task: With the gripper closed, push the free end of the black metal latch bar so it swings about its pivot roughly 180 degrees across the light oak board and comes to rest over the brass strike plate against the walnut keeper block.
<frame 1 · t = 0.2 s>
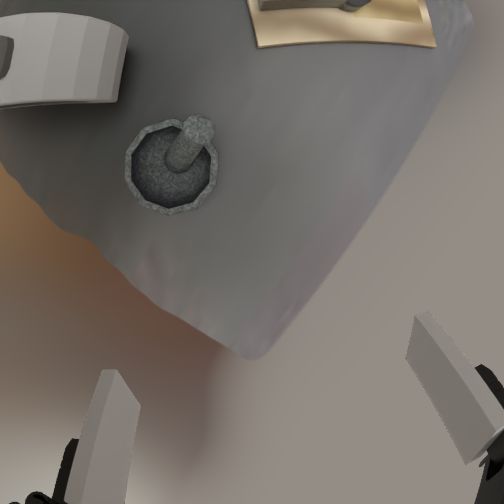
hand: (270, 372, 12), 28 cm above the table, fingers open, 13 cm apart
alarm clock: (66, 76, 28), on the table
mortar and pestle: (183, 153, 34), on the table
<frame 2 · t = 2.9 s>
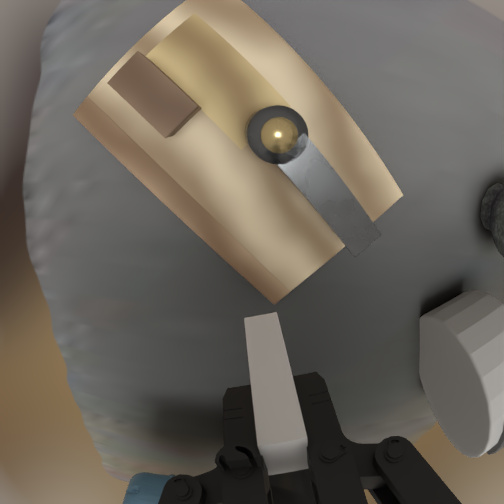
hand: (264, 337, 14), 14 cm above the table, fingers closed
alarm clock: (439, 337, 36), on the table
latch bar: (314, 179, 22), point 3 cm above the table, hinge at -90.0°
mortar and pestle: (491, 205, 28), on the table
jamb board: (245, 143, 23), on the table
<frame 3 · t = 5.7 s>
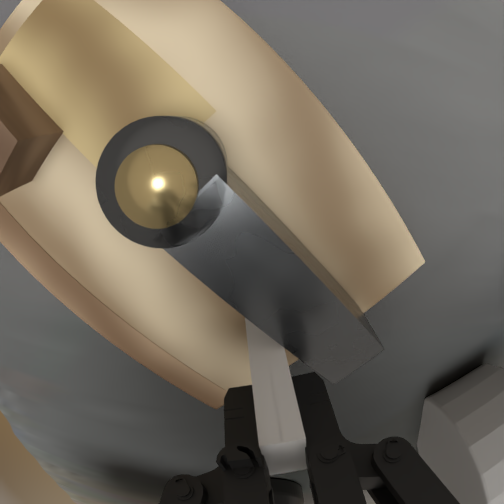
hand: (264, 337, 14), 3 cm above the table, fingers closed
alarm clock: (446, 409, 26), on the table
latch bar: (258, 260, 11), point 3 cm above the table, hinge at -89.0°, touching gripper
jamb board: (145, 183, 13), on the table
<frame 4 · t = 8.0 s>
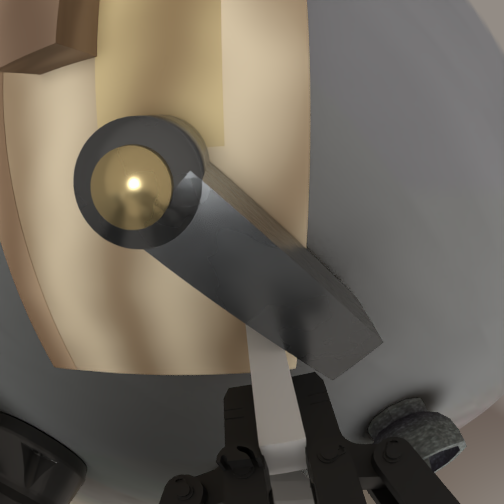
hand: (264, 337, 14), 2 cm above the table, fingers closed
alarm clock: (244, 483, 29), on the table
latch bar: (245, 256, 11), point 3 cm above the table, hinge at -45.2°, touching gripper
mortar and pestle: (394, 413, 24), on the table
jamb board: (123, 153, 12), on the table
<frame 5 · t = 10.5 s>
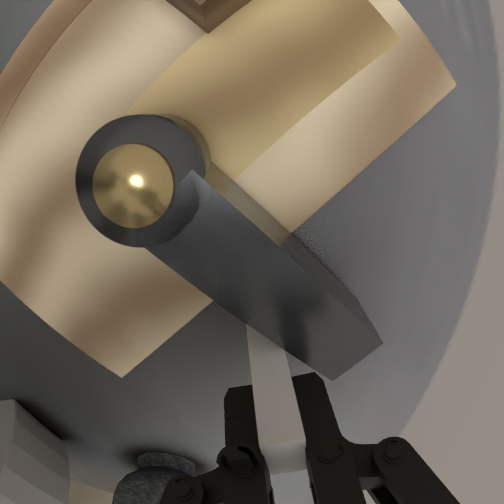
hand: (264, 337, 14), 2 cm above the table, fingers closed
alarm clock: (13, 421, 23), on the table
latch bar: (245, 255, 11), point 3 cm above the table, hinge at 2.4°, touching gripper
mortar and pestle: (166, 460, 25), on the table
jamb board: (144, 121, 12), on the table
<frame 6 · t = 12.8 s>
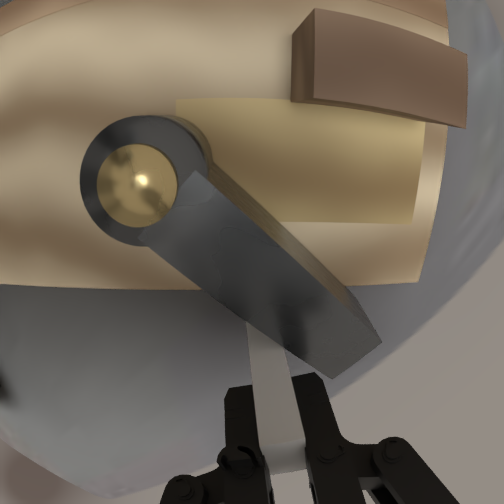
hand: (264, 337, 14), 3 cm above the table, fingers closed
latch bar: (247, 255, 11), point 3 cm above the table, hinge at 46.8°, touching gripper
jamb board: (180, 114, 12), on the table
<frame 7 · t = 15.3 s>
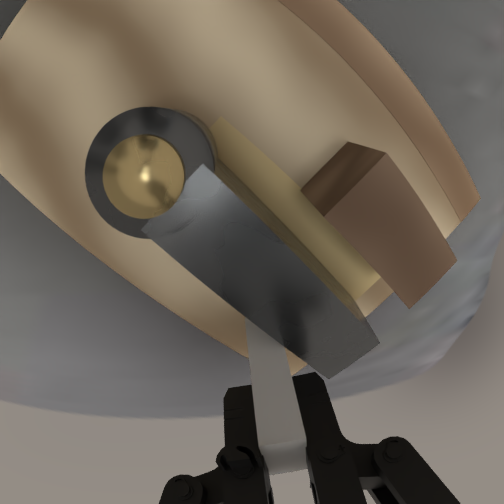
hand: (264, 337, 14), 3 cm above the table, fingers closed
latch bar: (249, 251, 11), point 3 cm above the table, hinge at 85.9°, touching gripper
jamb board: (212, 126, 12), on the table
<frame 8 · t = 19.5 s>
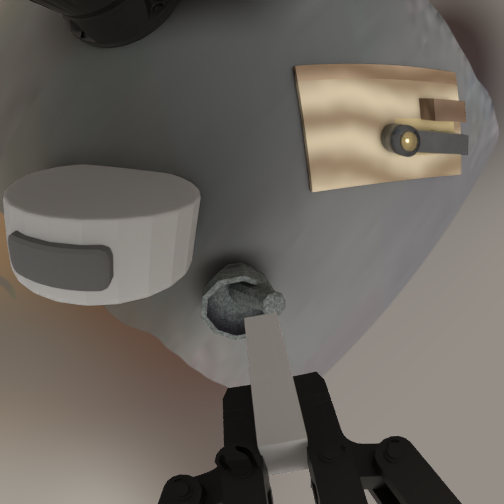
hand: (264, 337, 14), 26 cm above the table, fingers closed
alarm clock: (123, 195, 37), on the table
latch bar: (428, 140, 33), point 3 cm above the table, hinge at 86.0°
mortar and pestle: (240, 277, 43), on the table
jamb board: (390, 122, 35), on the table
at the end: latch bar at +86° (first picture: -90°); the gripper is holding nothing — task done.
